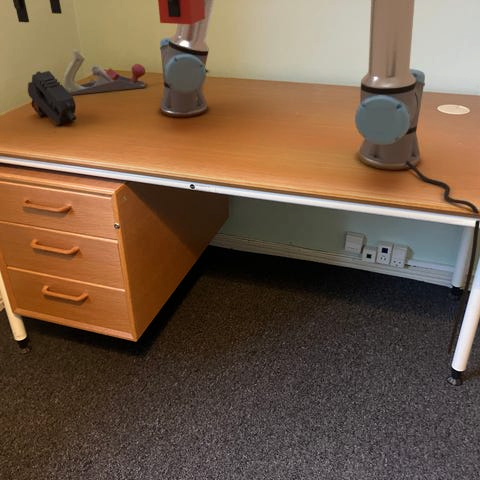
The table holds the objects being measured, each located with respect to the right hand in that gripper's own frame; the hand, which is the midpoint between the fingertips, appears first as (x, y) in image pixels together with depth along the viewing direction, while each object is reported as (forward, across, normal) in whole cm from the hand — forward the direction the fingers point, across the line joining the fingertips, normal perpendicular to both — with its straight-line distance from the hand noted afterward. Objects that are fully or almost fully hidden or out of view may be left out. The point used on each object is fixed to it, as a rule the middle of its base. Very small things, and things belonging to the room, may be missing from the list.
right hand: (182, 13), depth 128 cm
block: (+2, 0, 0) cm, 2 cm away
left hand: (+2, 0, -42) cm, 42 cm away
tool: (+35, -9, -52) cm, 63 cm away
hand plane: (+35, -43, -56) cm, 79 cm away
